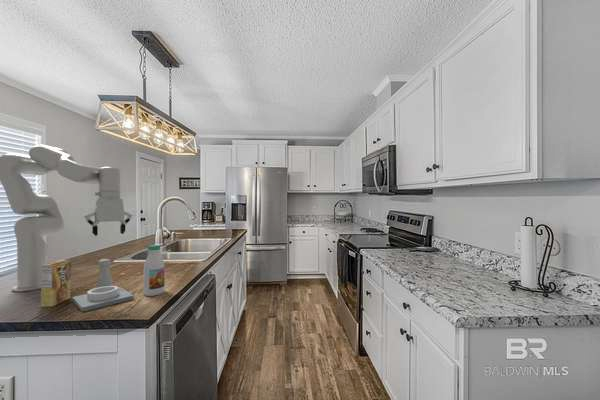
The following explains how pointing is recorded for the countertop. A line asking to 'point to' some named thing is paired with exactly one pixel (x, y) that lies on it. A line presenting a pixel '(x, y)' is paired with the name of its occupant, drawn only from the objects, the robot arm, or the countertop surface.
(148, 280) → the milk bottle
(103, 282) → the grey ball-topped peg
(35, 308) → the countertop surface
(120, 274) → the countertop surface
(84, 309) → the collar plate
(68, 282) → the candy box
